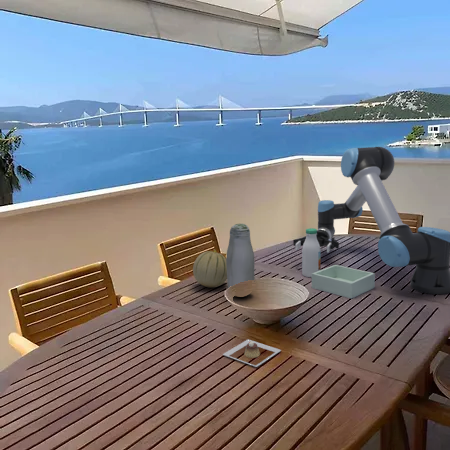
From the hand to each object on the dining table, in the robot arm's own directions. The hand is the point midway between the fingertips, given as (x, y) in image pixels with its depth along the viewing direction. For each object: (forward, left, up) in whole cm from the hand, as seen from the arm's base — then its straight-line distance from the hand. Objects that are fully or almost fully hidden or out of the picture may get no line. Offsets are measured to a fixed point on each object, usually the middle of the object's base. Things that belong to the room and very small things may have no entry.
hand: (311, 248), depth 203 cm
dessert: (-33, +71, -12) cm, 79 cm away
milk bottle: (-2, +3, -11) cm, 12 cm away
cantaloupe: (+19, +41, -11) cm, 46 cm away
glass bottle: (+2, +41, -11) cm, 42 cm away
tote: (-21, +8, -11) cm, 25 cm away
